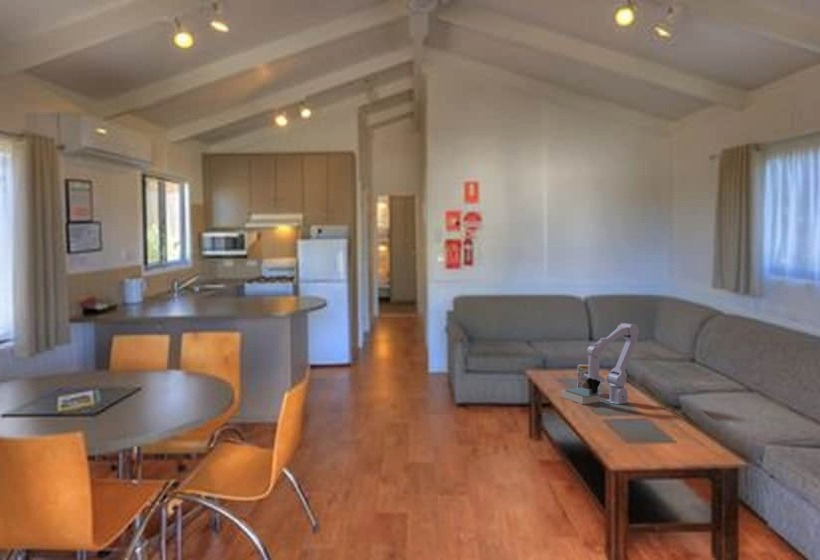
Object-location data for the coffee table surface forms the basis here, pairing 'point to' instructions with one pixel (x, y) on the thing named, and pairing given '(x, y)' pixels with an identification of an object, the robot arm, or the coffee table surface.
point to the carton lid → (583, 392)
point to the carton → (580, 398)
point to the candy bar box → (580, 379)
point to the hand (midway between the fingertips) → (593, 392)
